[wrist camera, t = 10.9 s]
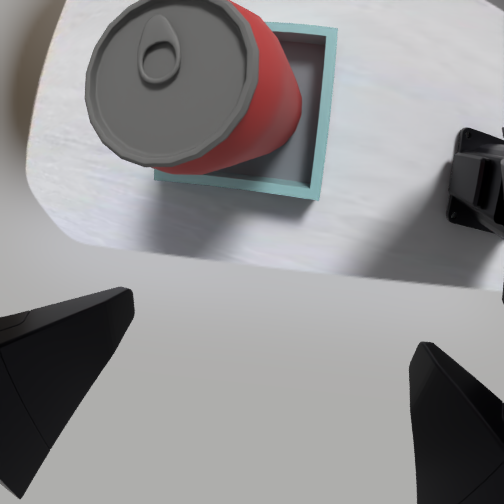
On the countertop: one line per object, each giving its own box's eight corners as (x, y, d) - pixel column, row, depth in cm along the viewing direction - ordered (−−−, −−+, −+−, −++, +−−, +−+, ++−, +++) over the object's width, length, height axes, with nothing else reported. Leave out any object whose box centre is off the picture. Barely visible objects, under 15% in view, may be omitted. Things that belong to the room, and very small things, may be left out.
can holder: (335, 41, 16) (337, 28, 14) (319, 192, 20) (318, 200, 18) (184, 35, 18) (167, 25, 16) (171, 174, 22) (153, 180, 19)
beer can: (295, 50, 17) (260, -50, 6) (309, 151, 19) (294, 171, 8) (194, 67, 18) (68, 19, 7) (206, 162, 20) (85, 200, 9)
